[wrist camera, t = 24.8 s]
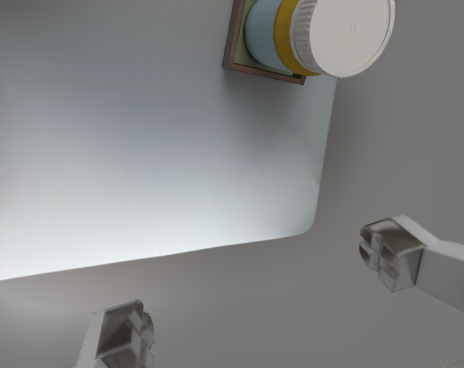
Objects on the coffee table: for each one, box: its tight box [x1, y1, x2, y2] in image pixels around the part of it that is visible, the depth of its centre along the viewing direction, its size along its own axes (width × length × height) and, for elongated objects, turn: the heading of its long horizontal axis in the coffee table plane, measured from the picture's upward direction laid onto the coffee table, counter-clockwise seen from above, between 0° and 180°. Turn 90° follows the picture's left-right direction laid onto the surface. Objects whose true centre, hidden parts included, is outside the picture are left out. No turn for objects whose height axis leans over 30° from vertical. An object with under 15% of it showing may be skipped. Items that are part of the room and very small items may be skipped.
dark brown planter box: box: [222, 0, 306, 85], centre depth 30 cm, size 9×9×3 cm
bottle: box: [244, 0, 395, 78], centre depth 24 cm, size 7×7×15 cm
